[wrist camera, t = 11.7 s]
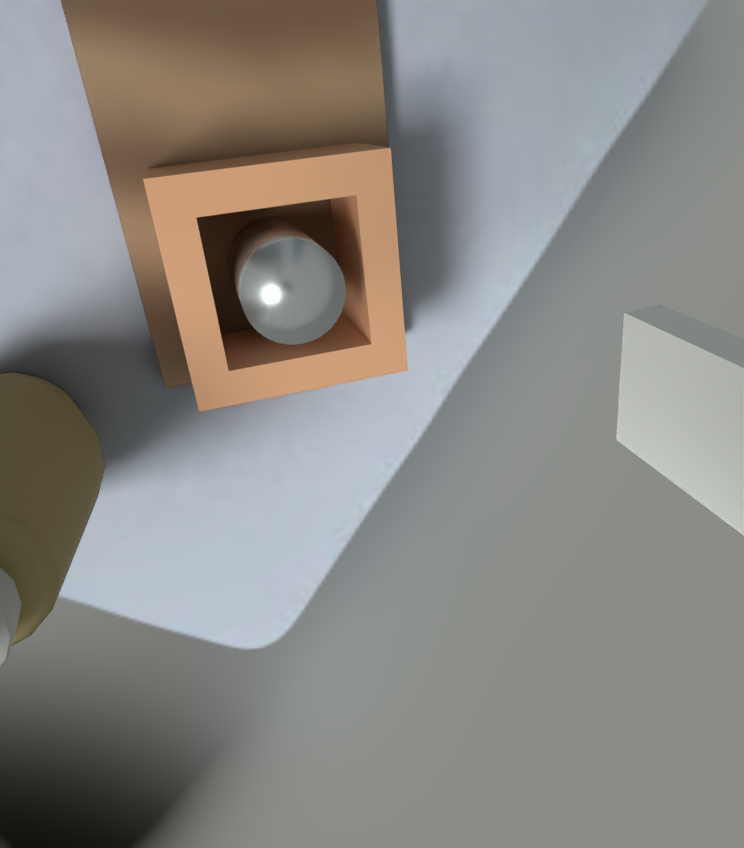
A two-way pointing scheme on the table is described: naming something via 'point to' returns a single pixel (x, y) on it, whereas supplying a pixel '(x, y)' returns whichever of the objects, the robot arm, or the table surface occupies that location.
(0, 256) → the table surface
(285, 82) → the board
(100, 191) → the table surface
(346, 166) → the collar
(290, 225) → the post
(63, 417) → the squeeze bottle
